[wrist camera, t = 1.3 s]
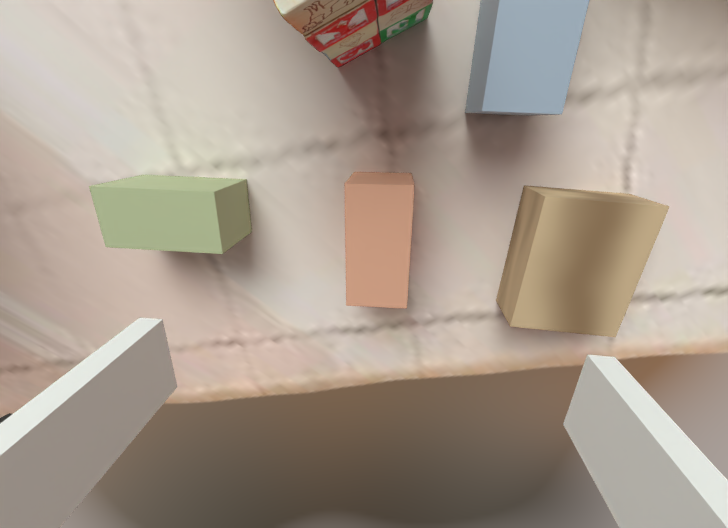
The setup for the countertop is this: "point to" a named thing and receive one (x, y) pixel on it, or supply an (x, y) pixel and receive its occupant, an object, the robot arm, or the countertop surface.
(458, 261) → the countertop surface
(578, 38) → the slate blue brick
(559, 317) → the oak double brick
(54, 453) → the robot arm
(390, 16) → the stack of blocks
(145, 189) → the olive brick
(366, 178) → the terracotta brick
